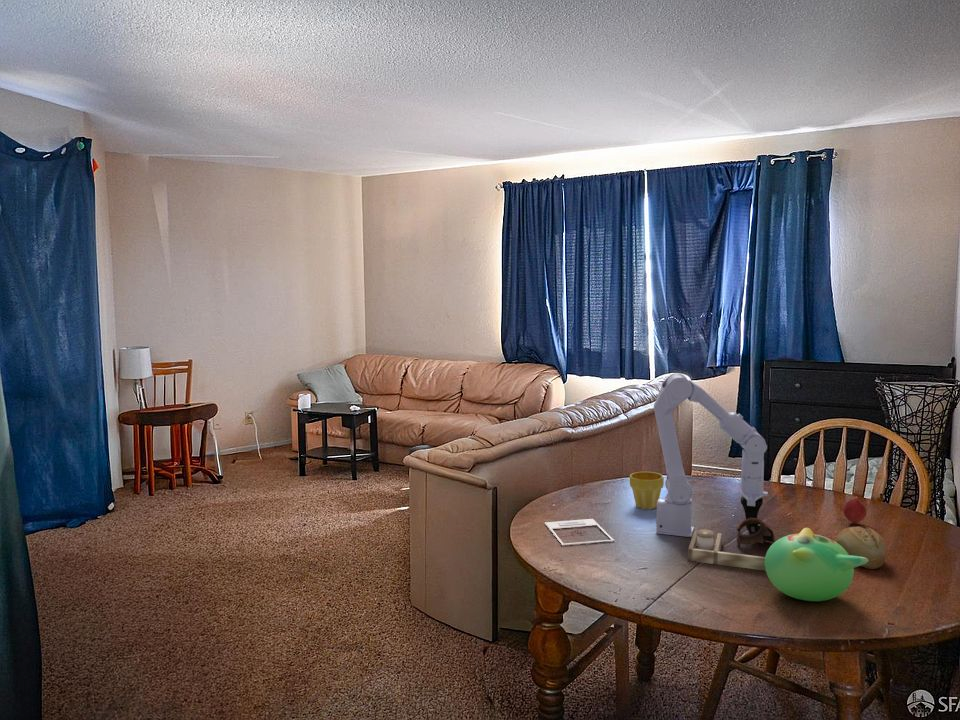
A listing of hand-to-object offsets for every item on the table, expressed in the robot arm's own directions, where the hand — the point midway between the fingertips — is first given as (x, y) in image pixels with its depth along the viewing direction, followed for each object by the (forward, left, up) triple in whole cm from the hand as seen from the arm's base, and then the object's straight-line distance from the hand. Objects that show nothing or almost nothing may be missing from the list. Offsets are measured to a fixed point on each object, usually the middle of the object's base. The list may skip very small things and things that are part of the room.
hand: (751, 524), depth 197 cm
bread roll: (+26, -9, -3) cm, 28 cm away
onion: (+27, +19, -3) cm, 33 cm away
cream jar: (-10, -18, -3) cm, 22 cm away
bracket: (-3, -17, -3) cm, 18 cm away
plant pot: (-31, +16, -3) cm, 35 cm away
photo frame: (-45, -14, -4) cm, 47 cm away
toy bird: (+13, -37, -3) cm, 40 cm away
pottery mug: (+1, -8, -3) cm, 8 cm away
